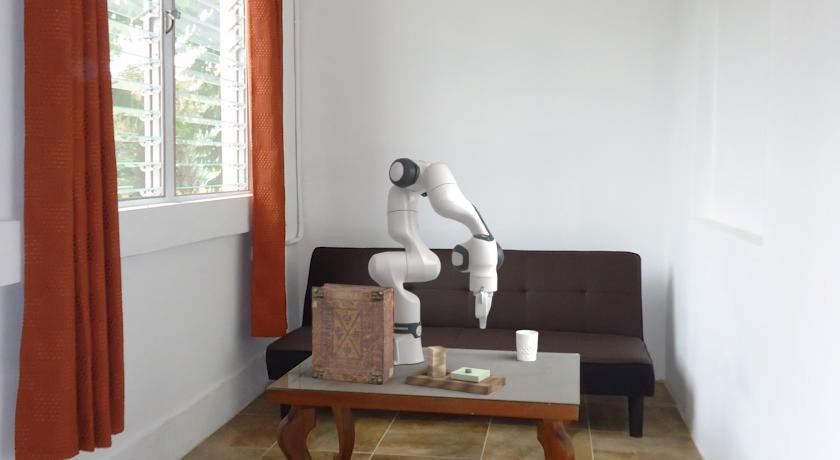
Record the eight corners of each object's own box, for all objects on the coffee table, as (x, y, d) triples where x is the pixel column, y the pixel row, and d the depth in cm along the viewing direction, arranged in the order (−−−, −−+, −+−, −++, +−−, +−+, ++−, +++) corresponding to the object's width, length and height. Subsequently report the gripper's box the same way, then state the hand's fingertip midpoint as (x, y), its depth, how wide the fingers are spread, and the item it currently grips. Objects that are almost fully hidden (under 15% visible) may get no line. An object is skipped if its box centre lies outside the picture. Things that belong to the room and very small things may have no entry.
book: (311, 378, 279) (311, 286, 277) (324, 371, 288) (323, 283, 286) (383, 384, 271) (383, 290, 268) (394, 378, 279) (394, 287, 277)
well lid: (450, 378, 267) (450, 369, 267) (462, 372, 275) (462, 364, 275) (478, 382, 263) (478, 373, 263) (490, 376, 271) (490, 367, 271)
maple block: (432, 383, 272) (432, 349, 271) (427, 380, 276) (427, 347, 275) (445, 382, 274) (445, 348, 273) (440, 379, 278) (440, 345, 277)
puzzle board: (406, 383, 272) (406, 375, 272) (427, 374, 284) (427, 367, 284) (487, 394, 259) (487, 386, 259) (505, 384, 271) (505, 376, 271)
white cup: (532, 363, 302) (532, 335, 301) (511, 360, 306) (512, 332, 305) (541, 359, 308) (541, 331, 308) (521, 356, 312) (521, 329, 312)
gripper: (491, 289, 265) (490, 333, 266) (494, 281, 285) (494, 322, 286) (470, 289, 266) (470, 333, 267) (476, 280, 286) (475, 321, 287)
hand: (483, 327), depth 276 cm, fingers closed
